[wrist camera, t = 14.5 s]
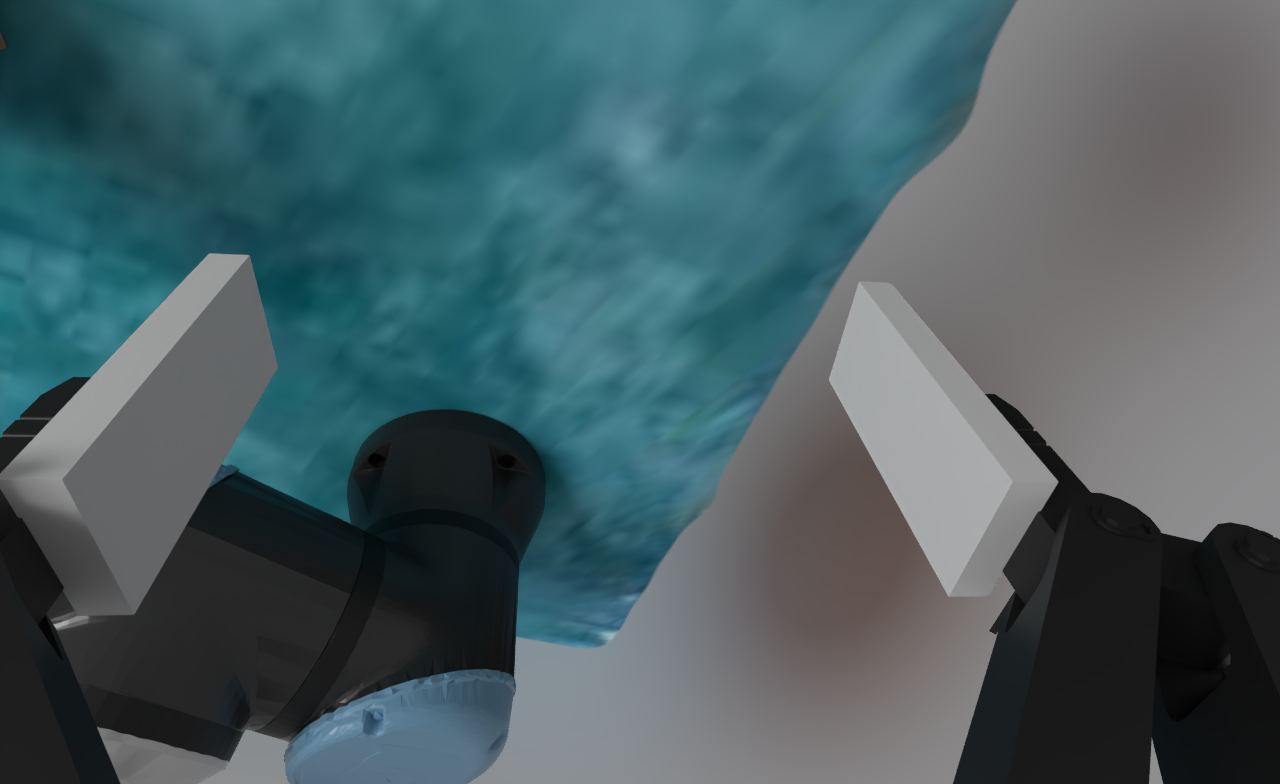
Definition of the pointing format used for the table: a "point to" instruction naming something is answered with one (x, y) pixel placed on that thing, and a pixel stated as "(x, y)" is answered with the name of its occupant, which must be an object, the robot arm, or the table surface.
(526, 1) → the table surface
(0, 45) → the walnut base cube
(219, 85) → the table surface
